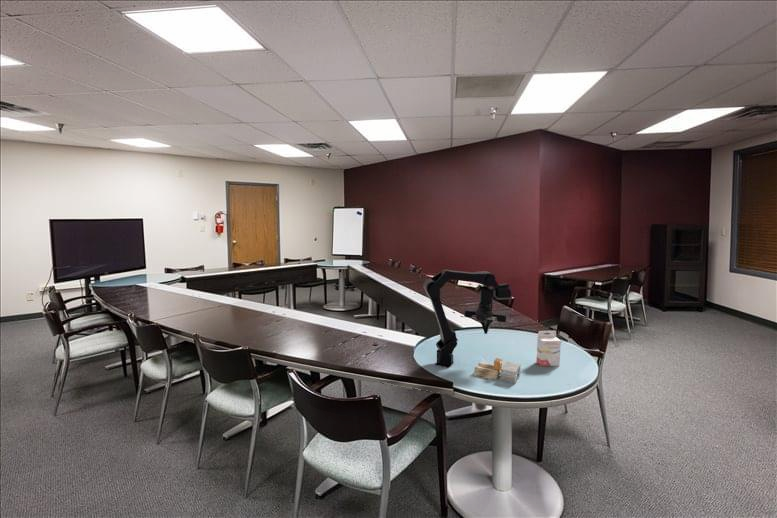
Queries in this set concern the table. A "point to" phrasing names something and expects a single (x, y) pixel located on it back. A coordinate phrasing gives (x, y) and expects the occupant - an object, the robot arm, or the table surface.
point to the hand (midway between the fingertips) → (485, 333)
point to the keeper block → (510, 372)
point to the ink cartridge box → (548, 349)
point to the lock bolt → (498, 365)
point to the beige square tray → (486, 371)
